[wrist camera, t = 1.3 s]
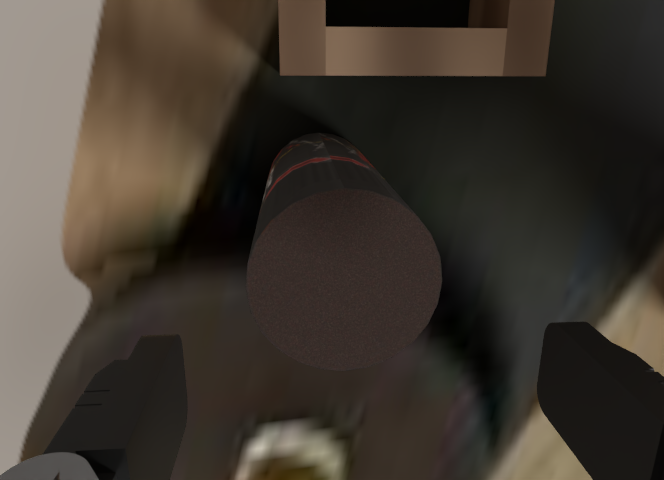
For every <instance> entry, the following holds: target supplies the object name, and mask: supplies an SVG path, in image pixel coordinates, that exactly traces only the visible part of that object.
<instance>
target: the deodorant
mask: <svg viewBox="0 0 664 480" xmlns="http://www.w3.org/2000/svg"><path fill="white" fill-rule="evenodd" d="M441 284H442V273H441V261H440V255H439V253H438V250H437V248H436V245H435V242H434V240H433V237H432V235H431V233H430V232H429V231H428V229H427V228H426V227H425V226H424V224H423V223H422V222H421V220H420V219H419V218H418V217H417V215H416V214H415V213H414V212H413V211H412V210H411V208H410V207H409V206H408V205H407V204H406V203H405V202H404V201H403V199H402V198H401V197H400V196H399V195H398V194H397V193H396V192H395V190H394V189H393V188H392V187H391V186H390V185H389V184H388V183H387V181H386V180H385V179H384V178H383V177H382V176H381V175H380V174H379V172H378V171H377V170H376V169H375V168H374V167H373V166H372V165H371V163H370V162H369V161H368V160H367V159H366V158H365V157H364V156H363V154H362V153H361V152H360V151H359V150H358V149H357V148H356V147H355V146H354V145H353V144H351V143H350V142H349V141H347V140H346V139H344V138H341V137H339V136H336V135H334V134H328V133H319V132H318V133H312V134H306V135H303V136H301V137H299V138H296V139H294V140H292V141H291V142H290V143H288V144H287V145H286V146H285V147H284V148H282V149H281V151H280V152H279V154H278V155H277V156H276V158H275V159H274V161H273V164H272V166H271V169H270V172H269V176H268V180H267V184H266V188H265V193H264V197H263V201H262V205H261V209H260V214H259V218H258V222H257V226H256V230H255V235H254V239H253V243H252V247H251V251H250V256H249V260H248V264H247V277H246V293H247V297H248V302H249V307H250V311H251V314H252V315H253V317H254V319H255V321H256V323H257V325H258V327H259V328H260V330H261V332H262V333H263V335H264V336H265V337H266V338H267V339H268V340H269V341H270V342H271V343H272V344H273V345H274V346H275V347H276V348H277V349H278V350H279V351H281V352H283V353H284V354H286V355H288V356H289V357H291V358H293V359H294V360H296V361H297V362H300V363H303V364H306V365H309V366H313V367H316V368H319V369H325V370H340V371H348V370H354V369H360V368H365V367H370V366H373V365H375V364H378V363H380V362H382V361H385V360H387V359H390V358H392V357H393V356H395V355H396V354H398V353H399V352H400V351H402V350H403V349H404V348H406V347H407V346H409V345H410V344H411V343H412V342H413V341H414V340H415V339H416V338H417V336H418V335H419V334H420V333H421V332H422V331H423V329H424V328H425V327H426V326H427V325H428V323H429V320H430V318H431V316H432V314H433V312H434V310H435V308H436V306H437V304H438V300H439V294H440V289H441Z"/></svg>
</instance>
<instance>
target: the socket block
mask: <svg viewBox="0 0 664 480" xmlns="http://www.w3.org/2000/svg"><path fill="white" fill-rule="evenodd" d="M554 3H555V0H470V5H469V18H468V28H415V27H326V0H278V14H279V53H280V75H301V76H546V68H547V60H548V51H549V43H550V35H551V27H552V19H553V11H554Z"/></svg>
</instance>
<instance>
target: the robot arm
mask: <svg viewBox="0 0 664 480" xmlns="http://www.w3.org/2000/svg"><path fill="white" fill-rule="evenodd" d="M537 394H538V400H539V404H540V407H541V409H542V411H543V413H544V414H545V416H546V417H547V418H548V420H549V421H550V422H551V424H552V425H553V427H554V428H555V429H556V431H557V432H558V433H559V435H560V436H561V437H562V439H563V440H564V441H565V443H566V444H567V445H568V447H569V448H570V449H571V451H572V452H573V453H574V455H575V456H576V457H577V459H578V460H579V461H580V463H581V464H582V465H583V467H584V468H585V469H586V471H587V472H588V474H589V475H590V476H591V478H592V479H593V480H664V377H663V376H662V375H661V374H660V373H658V372H654V369H653V368H652V367H651V366H650V365H648V364H647V363H646V362H645V361H644V360H642V359H641V358H640V357H639V356H637V355H636V354H634V353H632V352H630V351H628V350H626V349H624V348H622V347H620V346H618V345H616V344H614V343H612V342H610V341H609V340H608V339H607V338H606V337H604V336H603V335H602V334H601V333H600V332H598V331H597V330H596V329H595V328H594V327H592V326H591V325H590V324H589V323H587V322H559V323H550V324H549V325H548V326H547V327H546V330H545V333H544V340H543V347H542V354H541V361H540V368H539V375H538V382H537ZM186 421H187V390H186V380H185V370H184V359H183V349H182V342H181V338H180V336H179V335H178V334H177V335H147V336H142V337H141V338H140V339H139V341H138V343H137V345H136V346H135V348H134V350H133V352H132V353H131V355H130V357H129V358H128V360H114V361H113V362H112V363H110V364H109V365H107V366H106V367H105V368H103V369H102V370H101V371H99V372H98V373H97V374H95V376H94V377H93V379H92V380H91V382H90V383H89V385H88V386H87V388H86V389H85V391H84V394H82V395H81V397H80V398H79V400H78V401H77V403H76V405H75V408H73V409H72V411H71V412H70V414H69V415H68V417H67V418H66V420H65V421H64V423H63V424H62V426H61V427H60V429H59V430H58V432H57V433H56V435H55V436H54V438H53V440H52V441H51V443H50V444H49V446H48V447H47V449H46V450H45V452H44V453H43V455H40V456H36V457H33V458H31V459H28V460H26V461H23V462H21V463H19V464H17V465H15V466H14V467H12V468H10V469H9V470H7V471H6V472H4V473H3V474H2V475H0V480H170V477H171V474H172V470H173V467H174V464H175V461H176V457H177V454H178V451H179V447H180V444H181V441H182V437H183V434H184V431H185V427H186Z"/></svg>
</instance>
